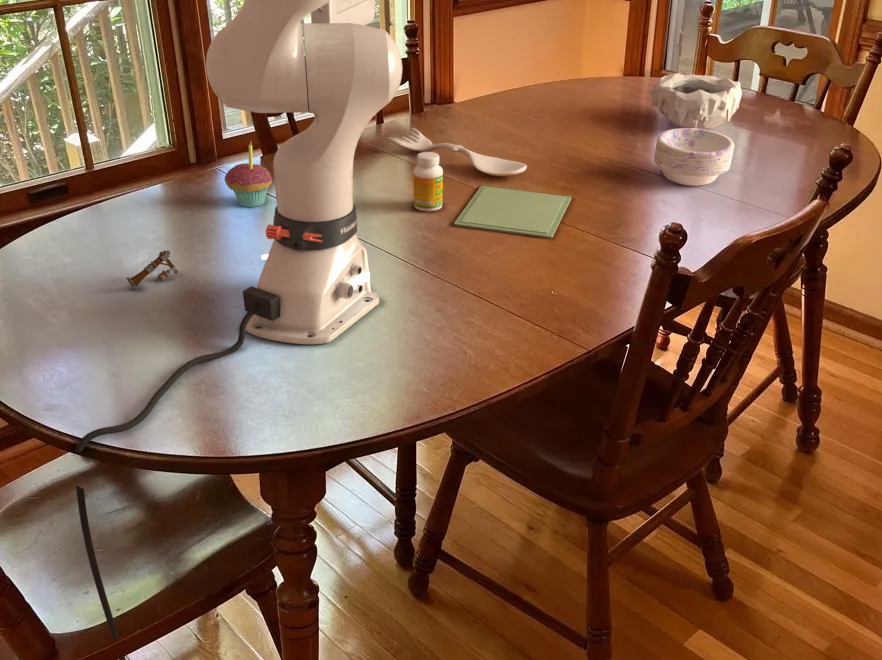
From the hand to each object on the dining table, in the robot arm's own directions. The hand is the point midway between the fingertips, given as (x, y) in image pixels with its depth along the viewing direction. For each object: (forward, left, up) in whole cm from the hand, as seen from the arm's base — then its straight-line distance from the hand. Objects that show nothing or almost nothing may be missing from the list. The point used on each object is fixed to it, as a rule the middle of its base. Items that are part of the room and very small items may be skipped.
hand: (347, 60), depth 161 cm
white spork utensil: (+25, -14, -25) cm, 38 cm away
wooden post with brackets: (-44, +17, -25) cm, 53 cm away
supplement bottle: (0, -15, -25) cm, 29 cm away
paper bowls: (+32, -61, -25) cm, 73 cm away
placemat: (+3, -31, -25) cm, 40 cm away
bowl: (+68, -59, -25) cm, 93 cm away
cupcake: (-9, +17, -25) cm, 32 cm away
